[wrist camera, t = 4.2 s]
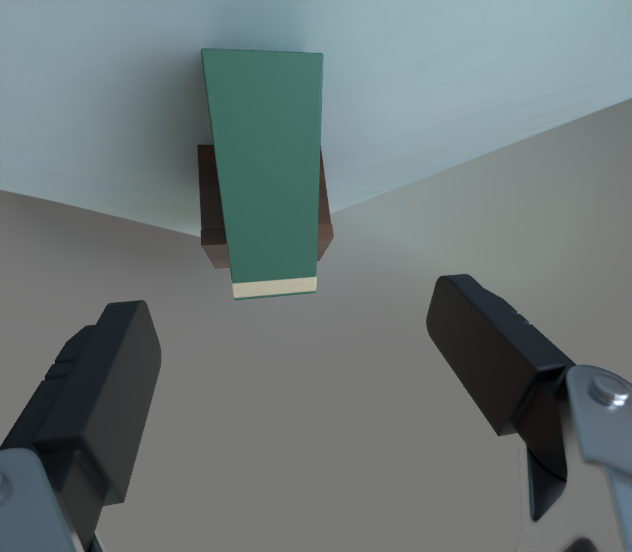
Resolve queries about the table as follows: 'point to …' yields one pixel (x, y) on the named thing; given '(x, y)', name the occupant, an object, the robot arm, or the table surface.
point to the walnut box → (213, 214)
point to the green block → (267, 165)
